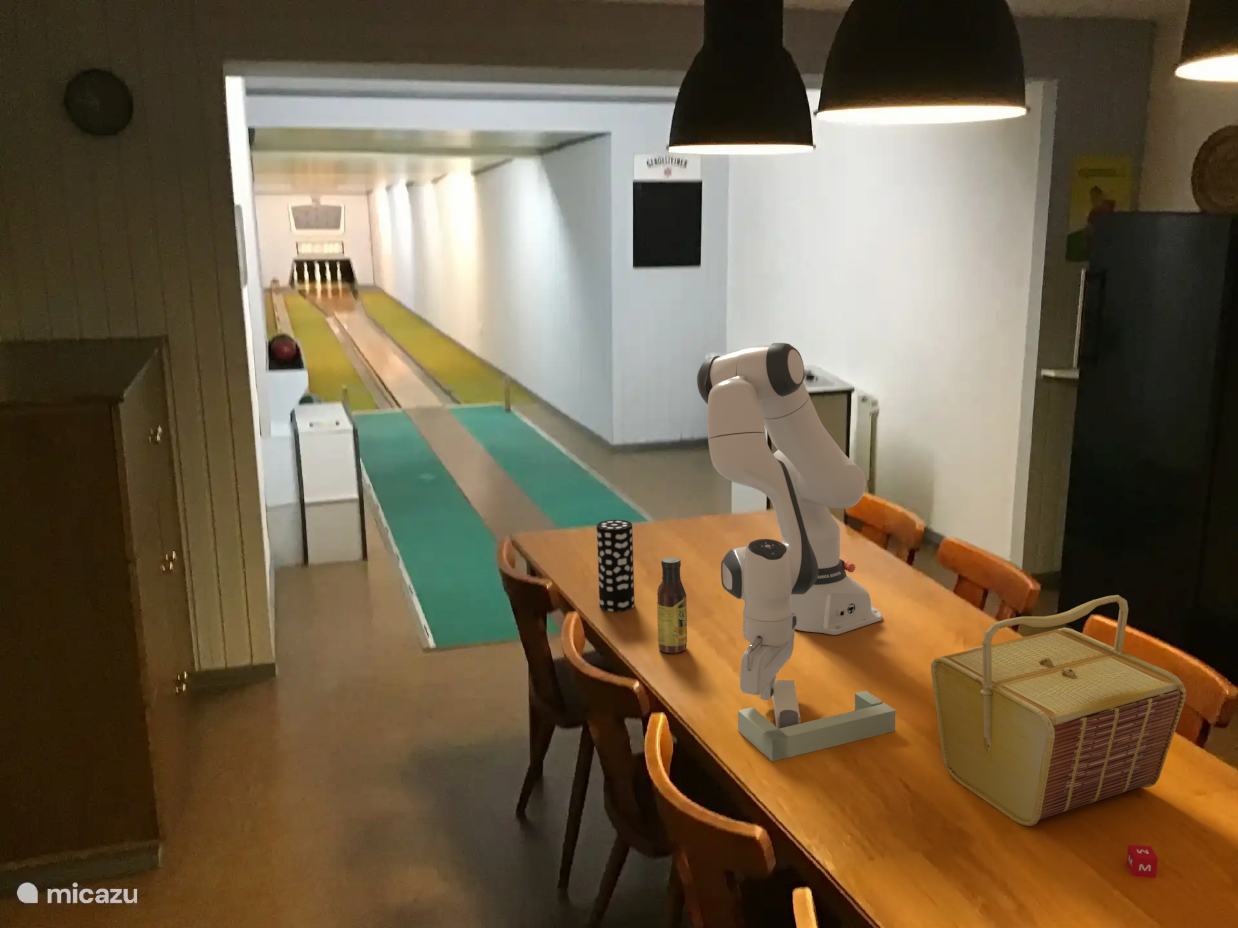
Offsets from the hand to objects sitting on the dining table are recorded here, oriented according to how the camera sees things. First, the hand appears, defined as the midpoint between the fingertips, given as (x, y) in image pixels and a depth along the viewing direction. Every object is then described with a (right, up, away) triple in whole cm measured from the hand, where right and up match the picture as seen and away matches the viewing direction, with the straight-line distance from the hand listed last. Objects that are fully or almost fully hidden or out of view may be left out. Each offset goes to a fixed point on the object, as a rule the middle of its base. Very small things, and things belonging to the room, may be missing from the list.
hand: (767, 697), depth 199 cm
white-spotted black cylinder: (-28, +10, +54) cm, 62 cm away
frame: (+7, -4, -9) cm, 13 cm away
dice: (+45, -13, -51) cm, 69 cm away
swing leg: (+3, -3, -5) cm, 6 cm away
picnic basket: (+41, -8, -28) cm, 50 cm away
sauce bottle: (-16, +4, +28) cm, 33 cm away
